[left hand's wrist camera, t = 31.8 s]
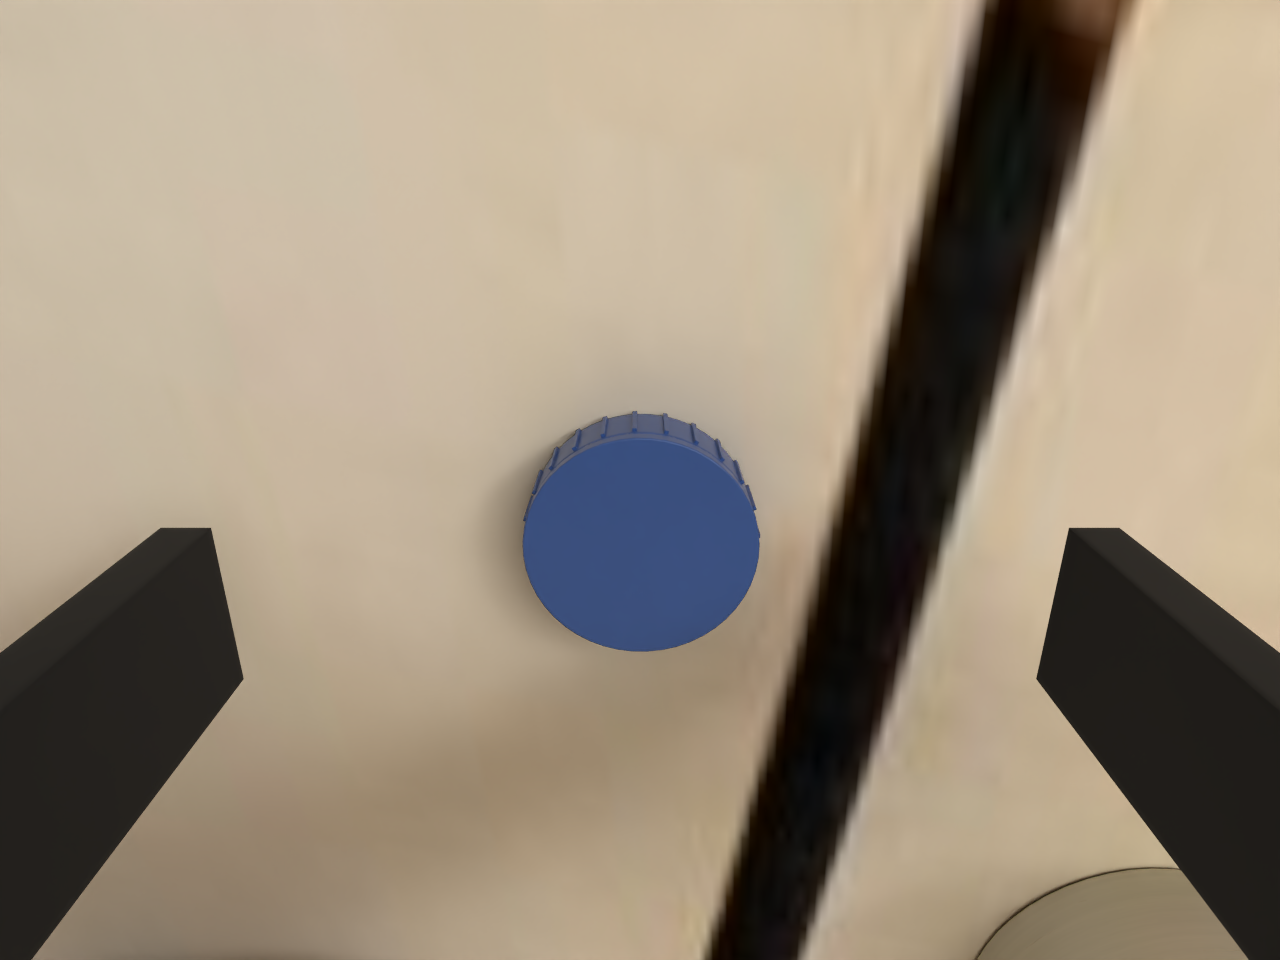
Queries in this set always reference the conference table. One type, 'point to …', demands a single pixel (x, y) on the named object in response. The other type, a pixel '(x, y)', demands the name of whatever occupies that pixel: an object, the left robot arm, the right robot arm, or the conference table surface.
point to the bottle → (1117, 922)
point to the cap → (641, 533)
